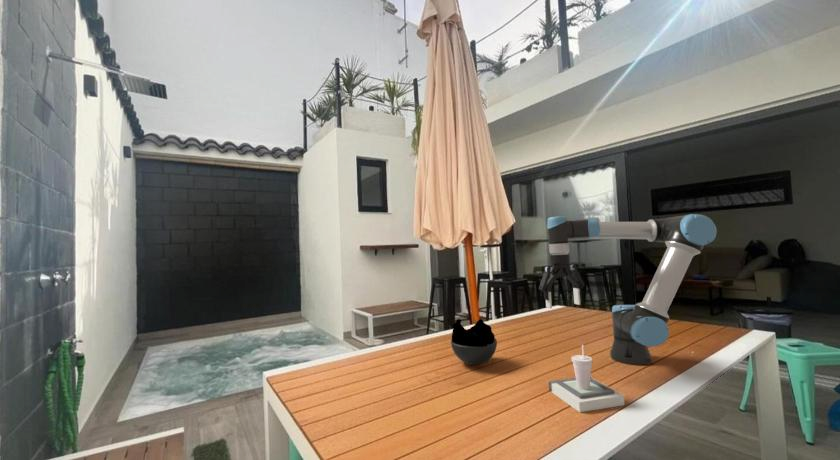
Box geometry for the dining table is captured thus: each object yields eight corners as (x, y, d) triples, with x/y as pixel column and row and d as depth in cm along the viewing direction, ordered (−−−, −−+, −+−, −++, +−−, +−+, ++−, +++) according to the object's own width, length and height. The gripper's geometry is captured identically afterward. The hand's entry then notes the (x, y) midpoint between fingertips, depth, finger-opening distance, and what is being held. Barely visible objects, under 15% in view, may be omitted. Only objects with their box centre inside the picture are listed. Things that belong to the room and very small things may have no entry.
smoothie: (596, 392, 109) (594, 348, 109) (575, 391, 110) (572, 347, 111) (591, 383, 115) (588, 342, 115) (571, 383, 116) (568, 341, 117)
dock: (589, 384, 122) (588, 373, 122) (624, 405, 106) (623, 392, 106) (549, 390, 118) (548, 378, 118) (579, 412, 103) (579, 398, 103)
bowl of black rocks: (507, 364, 145) (505, 320, 146) (473, 376, 134) (471, 328, 134) (475, 353, 161) (473, 313, 162) (442, 362, 150) (440, 320, 151)
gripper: (578, 252, 145) (582, 301, 144) (527, 255, 139) (531, 307, 138) (591, 252, 138) (595, 304, 137) (538, 256, 132) (542, 310, 131)
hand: (563, 306), depth 138 cm, fingers open, 13 cm apart
